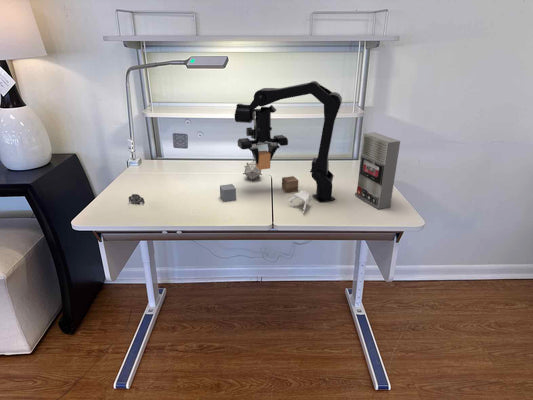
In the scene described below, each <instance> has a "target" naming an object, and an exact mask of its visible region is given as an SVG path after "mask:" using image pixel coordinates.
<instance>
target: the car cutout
mask: <svg viewBox="0 0 533 400" xmlns="http://www.w3.org/2000/svg"><path fill="white" fill-rule="evenodd" d="M132 204H134V205H139V206H140V207H141V206H143V205H144V204H146V202H145V199H144V197H142V196H141V195H140V194H137V193H132V194H131V195H129V197H128V205H129V206H130V205H132Z"/></svg>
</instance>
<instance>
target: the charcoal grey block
mask: <svg viewBox="0 0 533 400" xmlns="http://www.w3.org/2000/svg"><path fill="white" fill-rule="evenodd" d="M219 197H220V199H221V200H222V203H228V202H229V203H230V202H234V201H237V188H236V186H235V185H234V184H233V183H230V184H222V185H219Z"/></svg>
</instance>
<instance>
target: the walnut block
mask: <svg viewBox="0 0 533 400" xmlns="http://www.w3.org/2000/svg"><path fill="white" fill-rule="evenodd" d="M281 189H282V190H283V191H284V192H285V193H286V194H291V193H299V179H298V178H297V177H295V176H293V175H292V176H285V177H284V176H283V177H281Z"/></svg>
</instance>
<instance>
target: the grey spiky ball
mask: <svg viewBox="0 0 533 400" xmlns="http://www.w3.org/2000/svg"><path fill="white" fill-rule="evenodd" d="M244 168H245V169H244V172H243V173H242V175H246V177H247V178H249V179H250V180H251V182H253V181H254V180H255V179H257V178H258V179H260V176H262V175H263V174H262V169H261V170H259V169H258V168H257V167H256V162H255V159H253V160H252V161H251V162H249V163H248V162H246V166H244Z"/></svg>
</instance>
